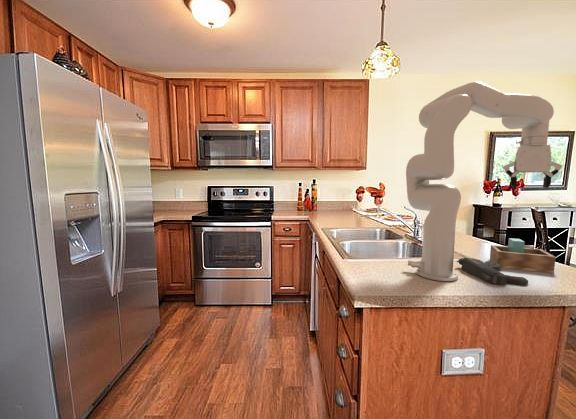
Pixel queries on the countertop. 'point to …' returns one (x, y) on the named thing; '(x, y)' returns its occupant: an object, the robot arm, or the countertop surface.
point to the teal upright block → (516, 245)
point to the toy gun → (489, 272)
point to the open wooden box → (523, 259)
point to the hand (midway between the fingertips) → (529, 187)
